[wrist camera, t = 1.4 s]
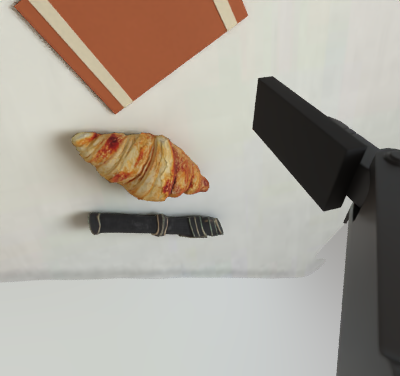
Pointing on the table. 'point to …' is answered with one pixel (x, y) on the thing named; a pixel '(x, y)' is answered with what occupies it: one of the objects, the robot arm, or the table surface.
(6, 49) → the table surface
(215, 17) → the tea towel
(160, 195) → the croissant
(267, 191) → the table surface
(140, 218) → the twine-wrapped black handle
